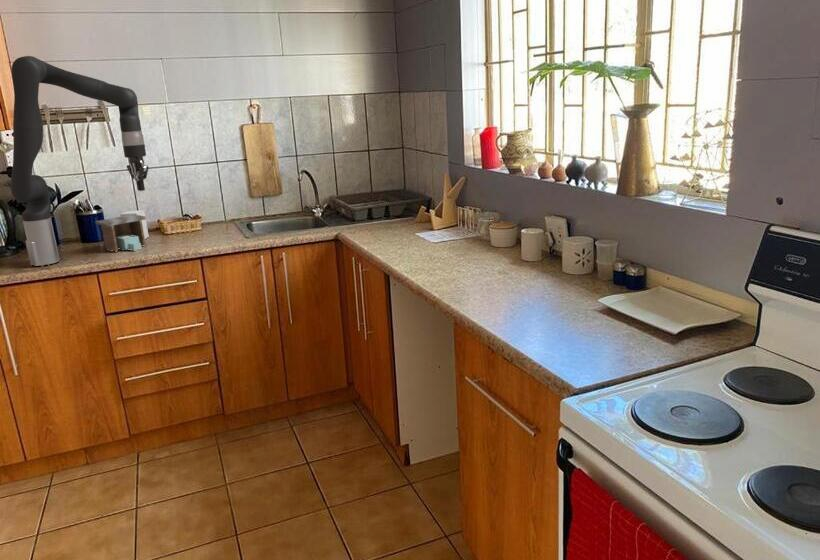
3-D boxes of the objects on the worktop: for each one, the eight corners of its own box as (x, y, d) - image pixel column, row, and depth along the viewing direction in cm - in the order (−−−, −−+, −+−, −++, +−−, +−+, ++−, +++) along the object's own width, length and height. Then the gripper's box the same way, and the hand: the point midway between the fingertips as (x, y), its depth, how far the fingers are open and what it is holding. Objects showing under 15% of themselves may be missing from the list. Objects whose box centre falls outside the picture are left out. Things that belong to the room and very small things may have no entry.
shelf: (111, 253, 260) (106, 223, 257) (100, 250, 267) (95, 221, 263) (150, 245, 271) (145, 216, 268) (138, 242, 278) (133, 214, 275)
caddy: (145, 249, 264) (143, 237, 263) (131, 252, 260) (128, 240, 259) (131, 246, 272) (129, 234, 271) (117, 249, 268) (115, 237, 267)
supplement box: (149, 238, 286) (145, 209, 282) (141, 242, 279) (136, 213, 275) (133, 239, 287) (128, 210, 283) (124, 243, 280) (119, 213, 276)
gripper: (151, 143, 241) (159, 190, 246) (134, 142, 250) (142, 188, 255) (132, 145, 236) (140, 193, 241) (115, 144, 245) (123, 190, 249)
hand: (141, 190), depth 248 cm, fingers closed
